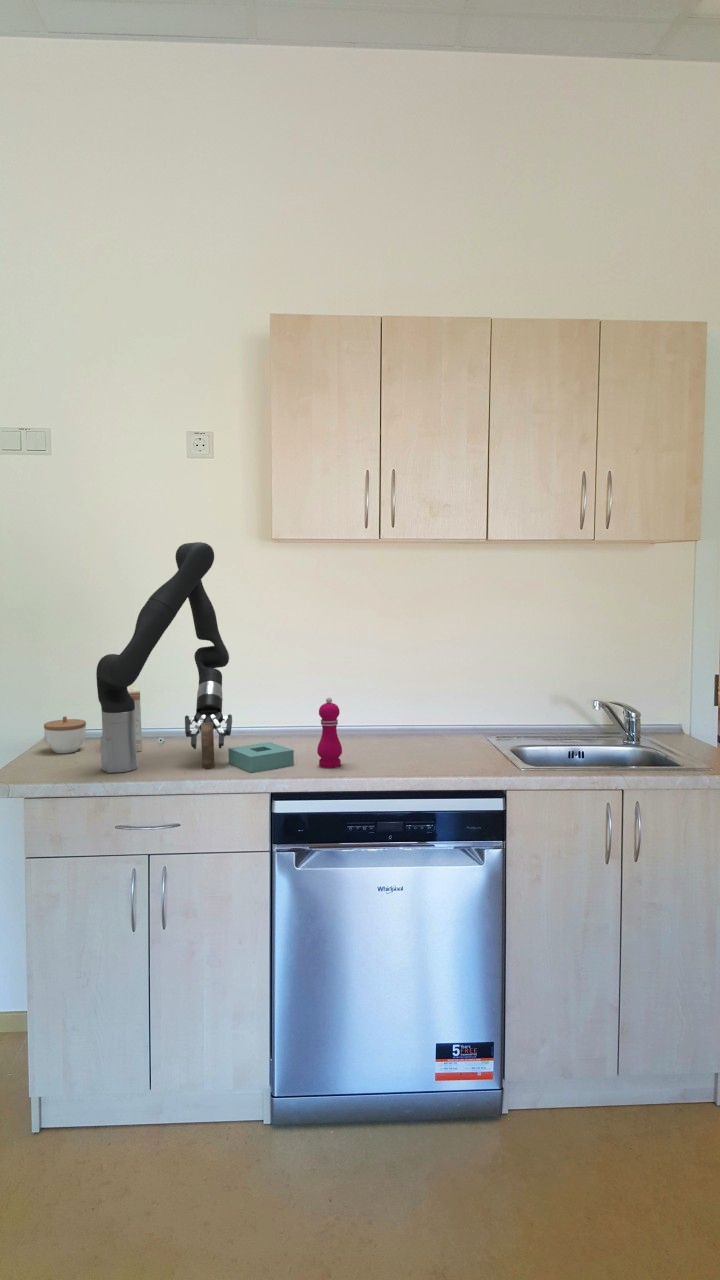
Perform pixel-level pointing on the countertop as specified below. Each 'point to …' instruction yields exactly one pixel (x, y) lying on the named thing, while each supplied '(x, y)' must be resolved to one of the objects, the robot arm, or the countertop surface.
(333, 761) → the pepper mill
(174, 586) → the robot arm
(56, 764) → the countertop surface
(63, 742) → the lidded bowl
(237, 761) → the socket block
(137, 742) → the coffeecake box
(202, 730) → the peg
